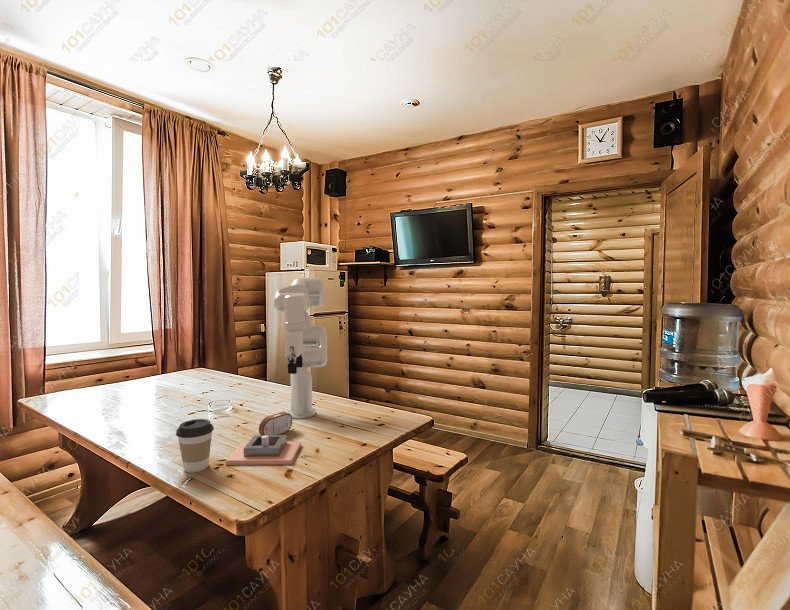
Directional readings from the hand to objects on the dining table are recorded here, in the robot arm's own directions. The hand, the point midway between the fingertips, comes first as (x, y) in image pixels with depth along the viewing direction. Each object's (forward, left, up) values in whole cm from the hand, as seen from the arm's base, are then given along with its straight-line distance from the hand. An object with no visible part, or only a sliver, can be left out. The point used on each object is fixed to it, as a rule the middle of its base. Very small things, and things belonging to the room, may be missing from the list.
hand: (295, 370), depth 163 cm
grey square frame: (+14, -8, -26) cm, 30 cm away
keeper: (+15, -8, -27) cm, 32 cm away
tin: (-4, -9, -27) cm, 29 cm away
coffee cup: (+25, -28, -27) cm, 46 cm away
